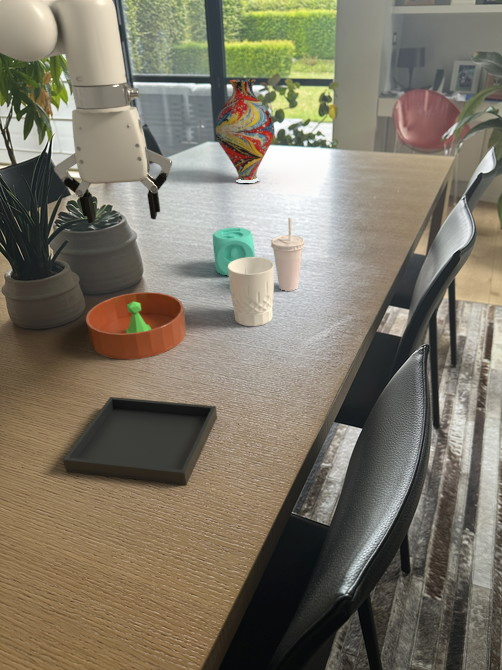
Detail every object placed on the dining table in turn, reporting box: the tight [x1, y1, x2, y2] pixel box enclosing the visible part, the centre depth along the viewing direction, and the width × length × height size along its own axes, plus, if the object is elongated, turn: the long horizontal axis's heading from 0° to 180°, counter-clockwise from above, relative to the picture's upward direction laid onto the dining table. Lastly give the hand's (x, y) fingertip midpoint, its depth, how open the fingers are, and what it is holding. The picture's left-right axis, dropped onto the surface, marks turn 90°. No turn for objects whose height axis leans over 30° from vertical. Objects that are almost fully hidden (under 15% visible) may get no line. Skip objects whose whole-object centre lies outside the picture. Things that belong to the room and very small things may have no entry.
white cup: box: [228, 256, 275, 327], centre depth 96 cm, size 8×8×10 cm
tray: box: [62, 396, 218, 486], centre depth 69 cm, size 15×13×2 cm
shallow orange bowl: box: [85, 291, 187, 360], centre depth 93 cm, size 16×16×4 cm
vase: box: [215, 78, 275, 180], centre depth 176 cm, size 19×19×30 cm
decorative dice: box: [212, 227, 256, 277], centre depth 116 cm, size 8×8×8 cm
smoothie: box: [270, 217, 305, 292], centre depth 106 cm, size 6×6×14 cm
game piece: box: [126, 302, 151, 333], centre depth 92 cm, size 4×4×6 cm
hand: (123, 218), depth 87 cm, fingers open, 9 cm apart
